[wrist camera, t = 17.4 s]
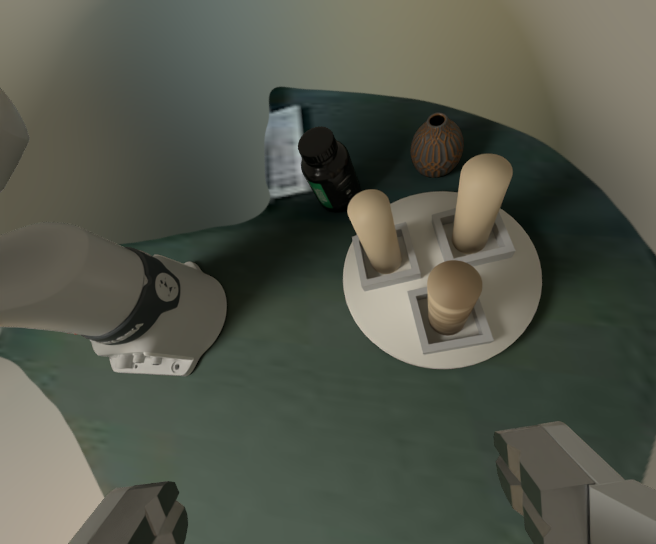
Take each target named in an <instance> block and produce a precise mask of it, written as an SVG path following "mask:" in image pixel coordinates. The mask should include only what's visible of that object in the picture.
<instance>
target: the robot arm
mask: <svg viewBox="0 0 656 544" xmlns="http://www.w3.org/2000/svg"><path fill="white" fill-rule="evenodd" d="M28 142H29V135H28V131H27V128H26V126H25V123H24V121H23V119H22V117H21V115H20V113H19V112H18V110H17V108H16V107H15V105H14V104H13V103H12V101H11V100H10V99H9V97H8V96H7V95H6V94H5V92H4V91H2V89H1V88H0V192H1V191H2V190H3V189H4V188H5V186H6V184H7V182H8V181H9V179H10V177H11V175H12V174H13V172H14V170H15V168H16V167H17V165H18V163H19V161H20V159H21V157H22V154H23V152H24V150H25V148H26V146H27V144H28ZM226 311H227V302H226V296H225V292H224V290H223V288H222V286H221V284H220V283H219V282H218V281H217V280H216V279H215V278H213V277H212V276H210V275H207V274H205V273H203V272H202V271H201V269H200V268H199V267H198V265H197V264H195V263H193V262H186V263H184V264H182V263H180V262H177V261H175V260H172V259H169V258H167V257H164V256H161V255H154V256H151V255H150V254H148V253H146V252H143V251H140V250H137V249H134V248H131V247H122V246H120V245H118V244H116V243H114V242H111V241H109V240H107V239H105V238H103V237H101V236H98V235H96V234H94V233H92V232H89V231H87V230H85V229H83V228H81V227H79V226H76V225H73V224H68V223H59V222H42V223H36V224H31V225H28V226H25V227H22V228H19V229H16V230H14V231H11V232H8V233H5V234H1V235H0V327H19V328H30V329H41V330H50V331H59V332H66V333H74V334H75V335H76V334H80V335H81V336H83V337H85V338H87V339H90V341H92V346H93V349H94V351H95V353H96V354H97V355H99V356H105V357H110V363H111V366H112V369H113V371H115V372H119V373H132V374H152V375H171V376H188V375H189V374H191V372H192V371H193V370H194V368H195V366H196V364H197V362H198V360H199V358H200V357H201V355H202V354H203V353H204V352H205V351H206V350H207V349H208V348H209V347H210V346H211V345H212V344H213V343H214V341H215V340H216V338H217V337H218V335H219V333H220V331H221V329H222V327H223V324H224V321H225V317H226ZM178 366H179V369H178ZM493 438H494V446H495V448H496V449H497V451H498V452H499V454H500V456H499V457H498V459H497V460H496V467H497V474H498V477H499V480H500V483H501V487H502V489H503V491H504V493H505V495H506V497H507V499H508V501H509V503H510V505H511V506H512V508H513V509H514V510H516V511H517V512H519V513H520V514H521V515H523V516H524V526H525V530H526V532H527V534H528V535H529V537H530V539H531V540H532V542H533V544H656V490H655V489H652V488H650V487H648V486H646V485H644V484H642V483H640V482H637V481H635V480H624V479H623V478H622V477H621V476H620V475H619V474H618V473H617V472H616V471H615V470H614V469H613V468H612V467H611V466H609V465H608V464H607V463H606V462H605V461H604V460H603V459H602V458H601V457H600V456H599V455H598V454H597V453H596V452H595V451H594V450H592V449H591V448H590V447H589V446H588V445H587V444H586V443H585V442H584V441H583V440H582V439H581V438H580V437H579V436H578V435H577V434H576V433H574V432H573V431H572V430H571V429H570V428H569V427H568V426H567V425H566V424H565V423H563V422H560V421H556V422H550V423H544V424H538V425H537V426H536V425H534V426H528V427H521V428H515V429H509V430H503V431H497V432H494V437H493ZM178 494H179V491H178V489H177V486H176V484H175V482H170V481H168V482H159V483H151V484H143V485H135V486H131V487H122V488H116V489H114V490H112V491H111V492H109V493H108V494H107V495H106V497H105V498H104V499H103V500H102V502H101V503H100V504H99V505H98V507H97V508H96V509H95V511H94V512H93V513H92V514H91V516H90V517H89V518H88V519H87V521H86V522H85V523H84V524H83V526H82V527H81V528H80V529H79V531H78V532H77V533H76V535H75V536H74V537H73V538H72V540H71V541H70V542H69V543H68V544H184V542H185V539H186V533H187V528H188V518H187V512H186V510H185V507H184V506H183V505H182V504H180V503H179V502H178V501H176V499H177V497H178Z"/></svg>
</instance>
